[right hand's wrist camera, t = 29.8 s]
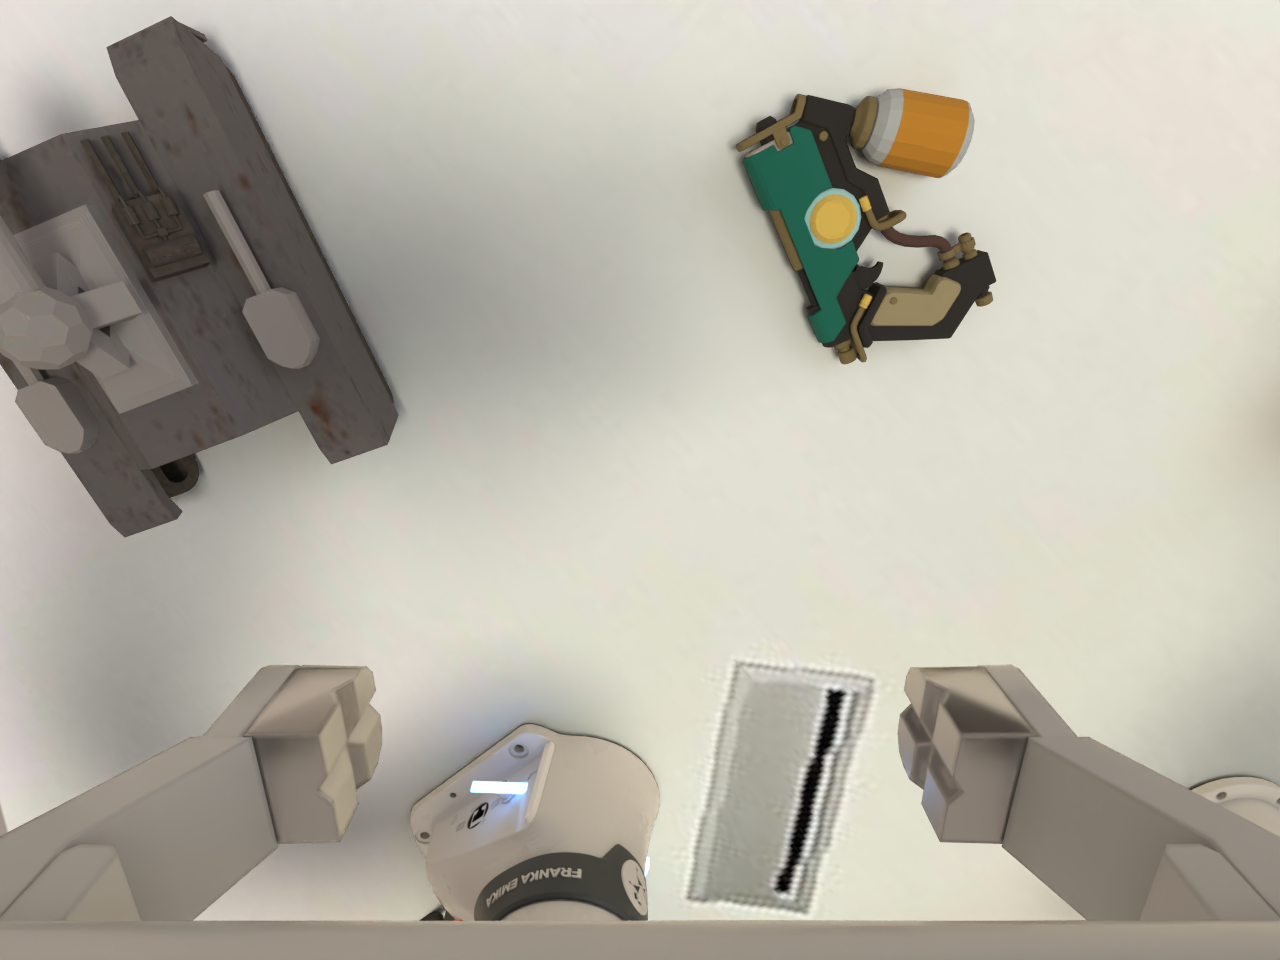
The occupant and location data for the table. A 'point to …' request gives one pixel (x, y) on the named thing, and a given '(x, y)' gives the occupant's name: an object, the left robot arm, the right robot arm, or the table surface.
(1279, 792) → the left robot arm
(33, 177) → the toy
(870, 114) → the spray gun
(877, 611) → the table surface
